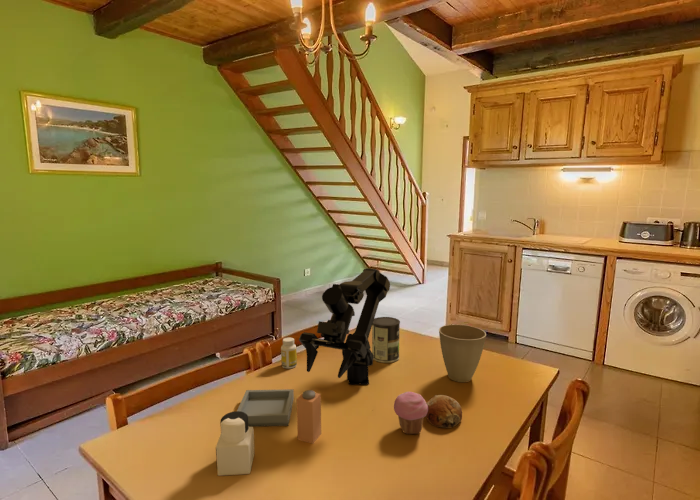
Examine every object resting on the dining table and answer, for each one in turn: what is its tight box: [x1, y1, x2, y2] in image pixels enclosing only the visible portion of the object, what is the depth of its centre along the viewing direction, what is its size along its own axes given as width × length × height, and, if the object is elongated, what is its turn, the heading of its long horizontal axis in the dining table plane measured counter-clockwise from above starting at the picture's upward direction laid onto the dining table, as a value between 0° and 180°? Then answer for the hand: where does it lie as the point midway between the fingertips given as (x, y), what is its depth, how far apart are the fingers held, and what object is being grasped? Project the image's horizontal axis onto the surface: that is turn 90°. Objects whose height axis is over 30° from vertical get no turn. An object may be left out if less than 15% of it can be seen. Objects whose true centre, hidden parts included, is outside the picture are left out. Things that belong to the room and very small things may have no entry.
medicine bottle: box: [215, 410, 255, 476], centre depth 92 cm, size 7×7×12 cm
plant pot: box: [438, 323, 487, 383], centre depth 134 cm, size 15×15×16 cm
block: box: [296, 389, 322, 445], centre depth 103 cm, size 4×4×12 cm
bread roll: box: [425, 394, 463, 429], centre depth 111 cm, size 10×10×8 cm
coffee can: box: [371, 316, 401, 364], centre depth 151 cm, size 10×10×14 cm
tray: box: [236, 388, 295, 427], centre depth 115 cm, size 14×14×3 cm
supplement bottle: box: [280, 337, 298, 370], centre depth 144 cm, size 5×5×10 cm
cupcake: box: [393, 391, 428, 435], centre depth 106 cm, size 9×9×10 cm
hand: (323, 374), depth 109 cm, fingers open, 9 cm apart
